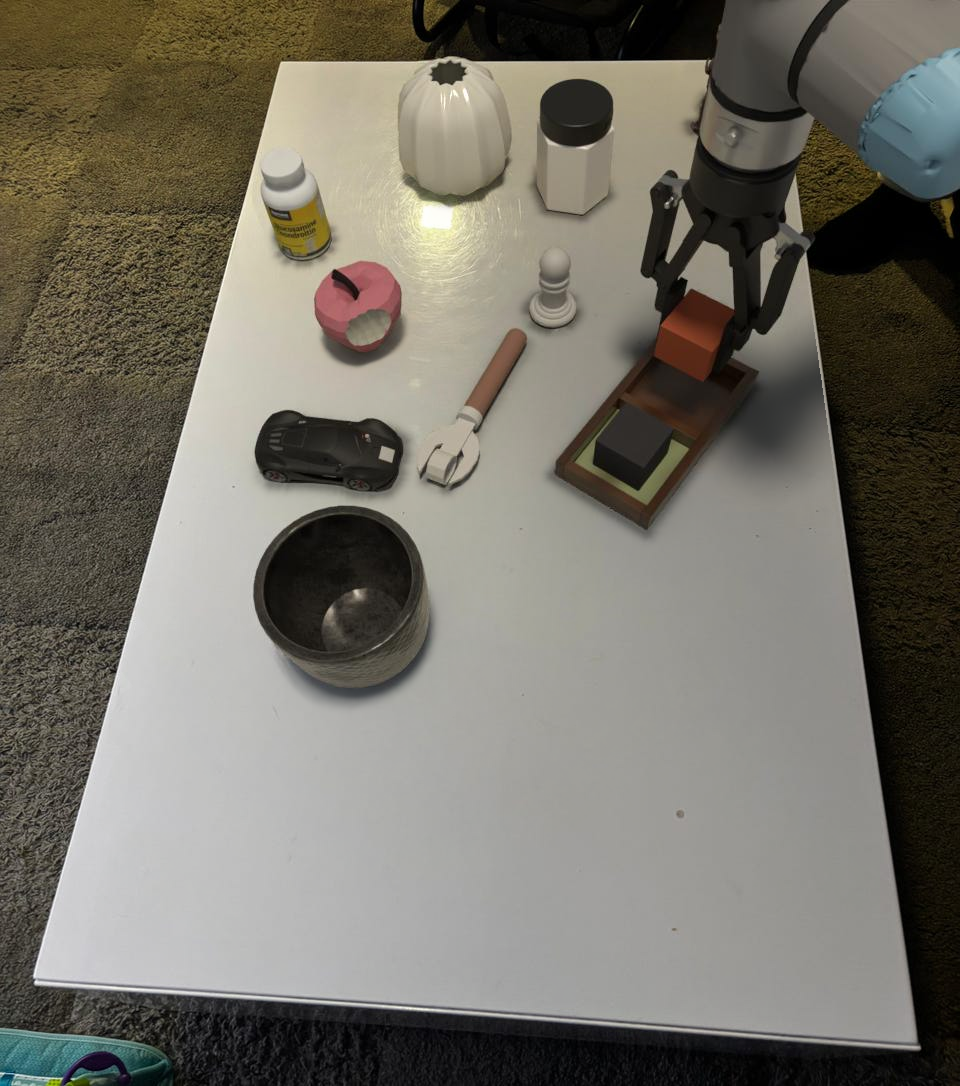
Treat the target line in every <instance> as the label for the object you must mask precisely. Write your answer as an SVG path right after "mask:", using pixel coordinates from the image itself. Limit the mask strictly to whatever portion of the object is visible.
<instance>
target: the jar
mask: <svg viewBox="0 0 960 1086" xmlns="http://www.w3.org/2000/svg"><path fill="white" fill-rule="evenodd" d="M613 117H614V99H613V95H612V93H611V92H610V91H609V89H607V87H605V86H604V85H603V84H601V83H599V82H598V81H594V80H591V79H585V78H571V79H570V78H569V79H563V80H561V81H559V82H556V83H554V84H552V85H551V86H549V87H548V88H547V89H545V91H544V92H543V94H542V96H541V98H540V101H539V117H537V118H536V186H537V189H538V191H539V194H540V197H541V199H542V201H543V204H544V206H545V208H546V210H548V211H554V212H561V213H567V214H573V215H581V216H583V215H585V214H586V213H587V212H589V211H590V210H591V209H592V208H594V207H595V206H596V205H598V204H599V203H600V202H601V201H603V200H604V199H605V198H606V197H608V195H609V187H610V179H611V167H612V158H613V148H614V138H615V126H614V125H613Z"/></svg>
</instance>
